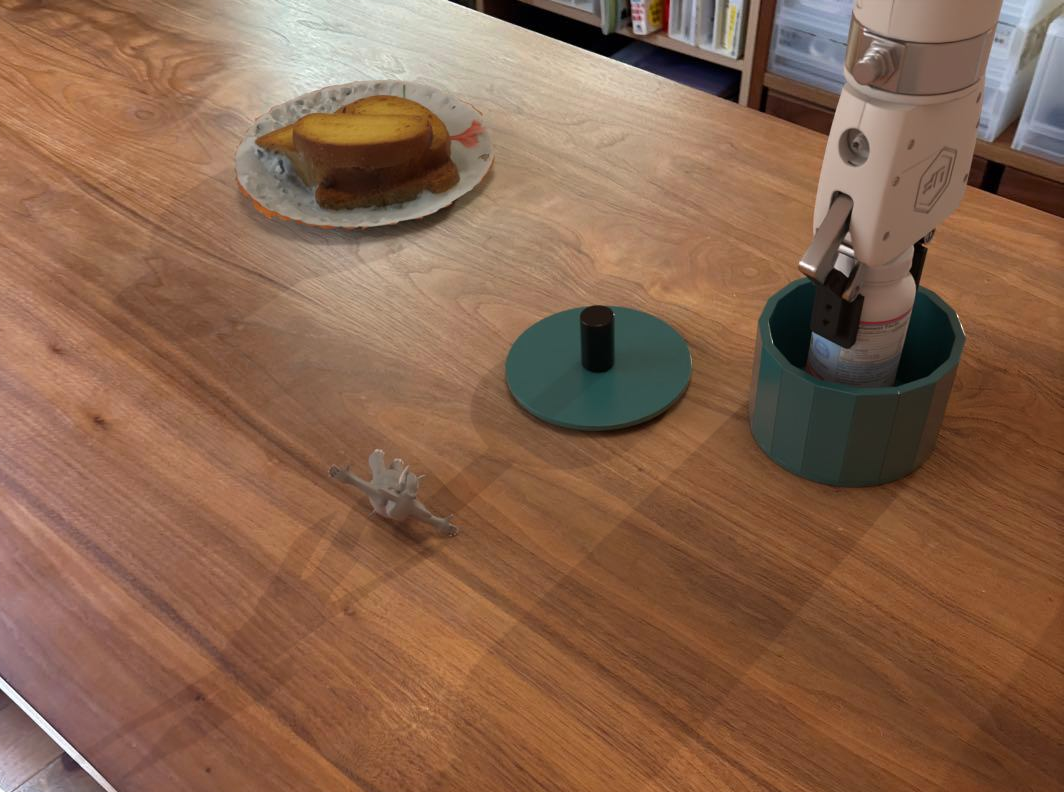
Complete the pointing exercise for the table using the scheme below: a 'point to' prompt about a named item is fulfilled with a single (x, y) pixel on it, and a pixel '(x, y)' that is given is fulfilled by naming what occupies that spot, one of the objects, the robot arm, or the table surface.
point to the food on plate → (363, 154)
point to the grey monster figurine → (393, 492)
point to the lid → (598, 368)
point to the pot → (850, 395)
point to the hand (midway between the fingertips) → (863, 312)
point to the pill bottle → (870, 328)
